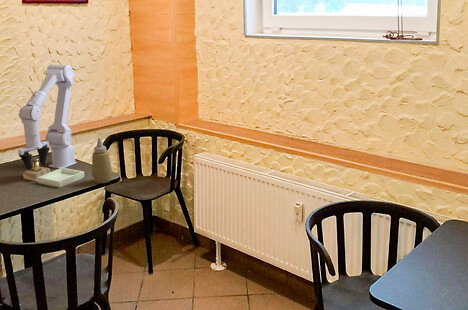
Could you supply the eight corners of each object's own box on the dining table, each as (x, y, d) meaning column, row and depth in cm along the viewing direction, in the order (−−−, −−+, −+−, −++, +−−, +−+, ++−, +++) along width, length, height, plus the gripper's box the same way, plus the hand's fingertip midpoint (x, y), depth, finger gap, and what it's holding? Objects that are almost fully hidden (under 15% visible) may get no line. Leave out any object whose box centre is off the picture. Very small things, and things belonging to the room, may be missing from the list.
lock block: (38, 173, 235) (37, 166, 234) (50, 175, 232) (49, 168, 231) (23, 178, 228) (22, 171, 228) (36, 181, 225) (35, 174, 224)
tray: (62, 173, 235) (62, 167, 234) (84, 177, 230) (84, 171, 229) (37, 183, 223) (37, 177, 222) (60, 187, 218) (59, 181, 217)
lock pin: (37, 175, 232) (35, 157, 230) (42, 176, 231) (40, 158, 229) (31, 177, 230) (29, 159, 227) (37, 178, 228) (35, 160, 226)
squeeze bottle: (105, 185, 220) (102, 142, 214) (88, 183, 222) (84, 140, 217) (116, 179, 227) (113, 136, 222) (99, 177, 230) (96, 135, 224)
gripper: (25, 140, 217) (29, 173, 221) (52, 132, 229) (56, 163, 233) (12, 138, 220) (16, 170, 224) (40, 130, 232) (43, 161, 236)
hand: (36, 166), depth 229 cm, fingers open, 7 cm apart
